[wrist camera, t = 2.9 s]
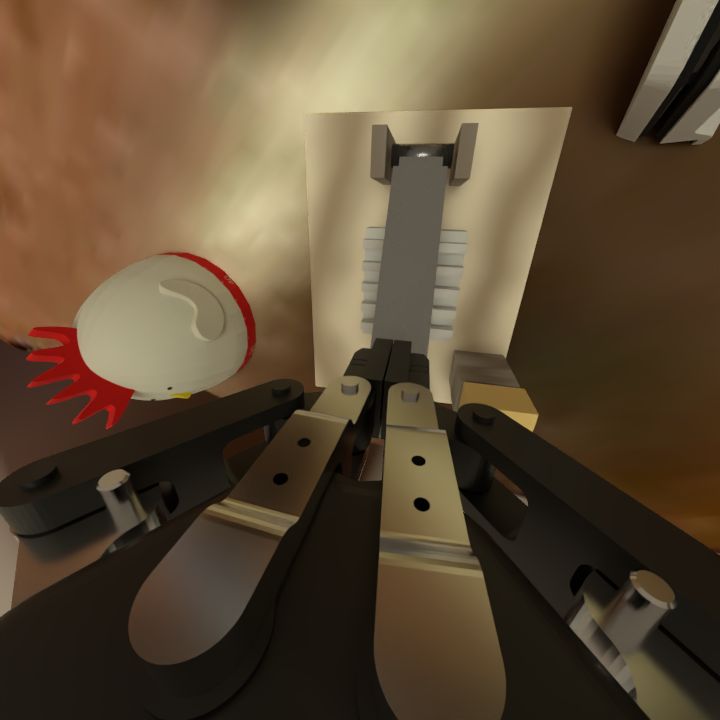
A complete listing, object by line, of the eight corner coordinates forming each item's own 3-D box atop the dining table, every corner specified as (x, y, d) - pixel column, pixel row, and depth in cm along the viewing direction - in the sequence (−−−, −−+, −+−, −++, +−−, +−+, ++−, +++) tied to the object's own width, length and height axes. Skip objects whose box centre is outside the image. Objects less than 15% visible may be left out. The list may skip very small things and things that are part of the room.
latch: (524, 388, 21) (543, 423, 17) (513, 424, 22) (528, 462, 19) (463, 381, 21) (470, 413, 18) (456, 416, 23) (461, 451, 19)
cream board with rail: (559, 116, 20) (624, 69, 13) (488, 397, 30) (505, 450, 23) (313, 121, 23) (266, 84, 16) (321, 376, 33) (294, 418, 26)
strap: (451, 154, 18) (454, 137, 17) (420, 441, 16) (421, 444, 15) (393, 154, 18) (392, 138, 17) (358, 431, 17) (355, 434, 16)
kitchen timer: (200, 393, 37) (75, 493, 24) (115, 298, 34) (-86, 354, 21) (281, 343, 32) (177, 436, 19) (190, 222, 28) (-18, 233, 15)
